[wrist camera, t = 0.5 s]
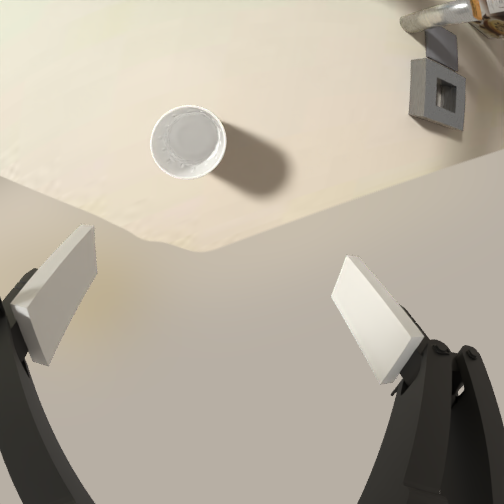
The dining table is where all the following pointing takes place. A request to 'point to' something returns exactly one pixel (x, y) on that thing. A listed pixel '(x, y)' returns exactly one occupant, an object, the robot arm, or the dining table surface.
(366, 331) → the robot arm
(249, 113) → the dining table surface
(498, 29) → the coffee box
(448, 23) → the grey long rod
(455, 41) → the mat
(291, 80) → the dining table surface
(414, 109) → the block
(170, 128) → the white cup
